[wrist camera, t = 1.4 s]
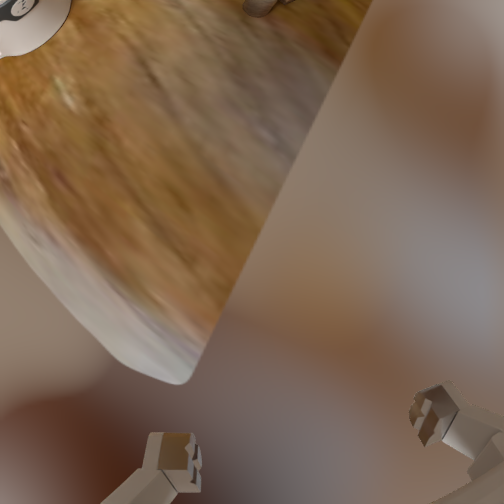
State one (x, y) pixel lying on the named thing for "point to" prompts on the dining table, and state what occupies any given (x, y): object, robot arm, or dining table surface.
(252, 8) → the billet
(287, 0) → the wooden divided tray
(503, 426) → the robot arm
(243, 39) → the dining table surface
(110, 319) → the dining table surface
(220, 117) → the dining table surface
